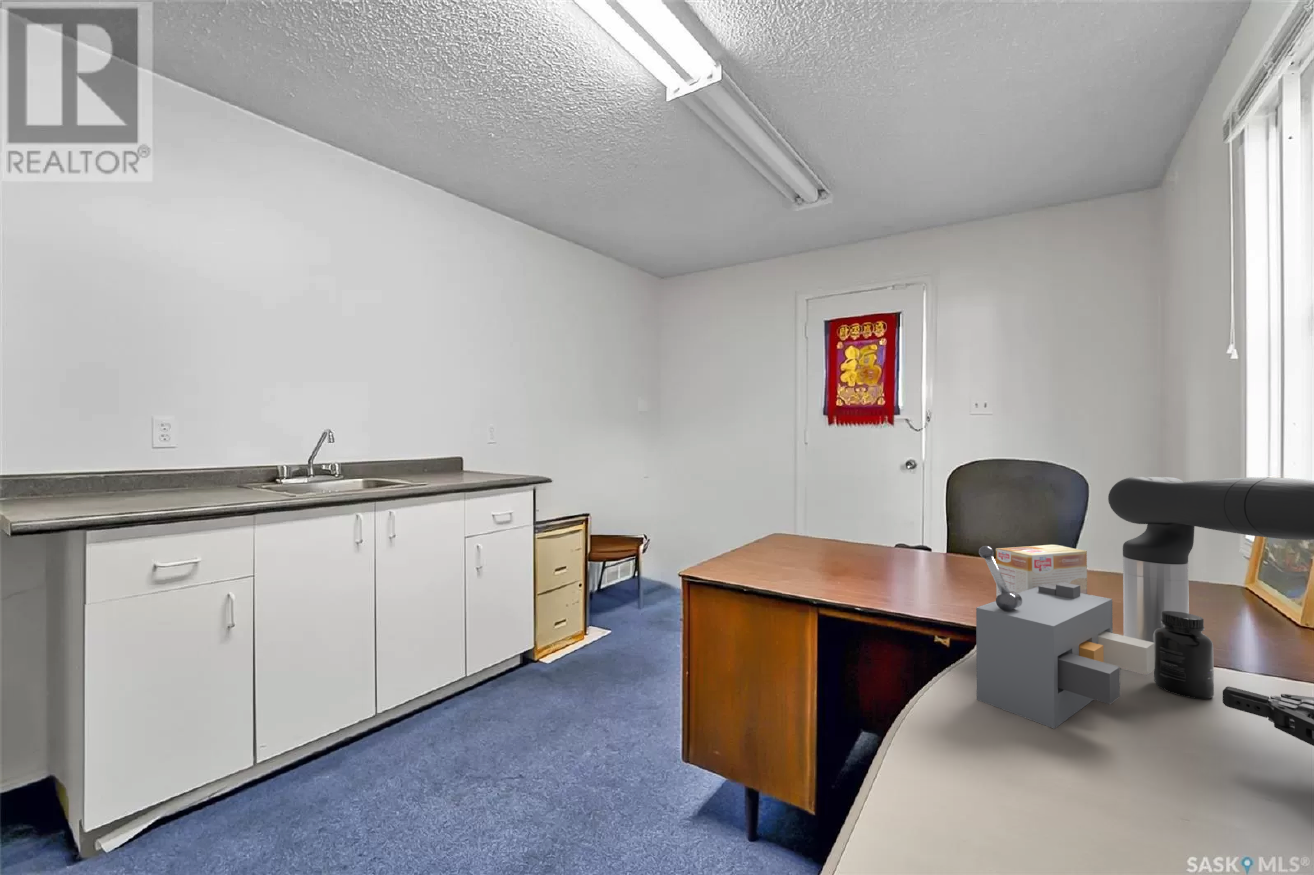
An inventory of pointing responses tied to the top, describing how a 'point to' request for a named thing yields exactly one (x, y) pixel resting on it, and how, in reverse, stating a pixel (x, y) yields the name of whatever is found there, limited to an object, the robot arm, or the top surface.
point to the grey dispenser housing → (1036, 650)
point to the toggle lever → (1000, 582)
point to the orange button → (1091, 651)
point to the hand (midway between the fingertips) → (1224, 695)
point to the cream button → (1128, 652)
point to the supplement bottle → (1183, 656)
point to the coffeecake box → (1041, 567)
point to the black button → (1089, 677)
